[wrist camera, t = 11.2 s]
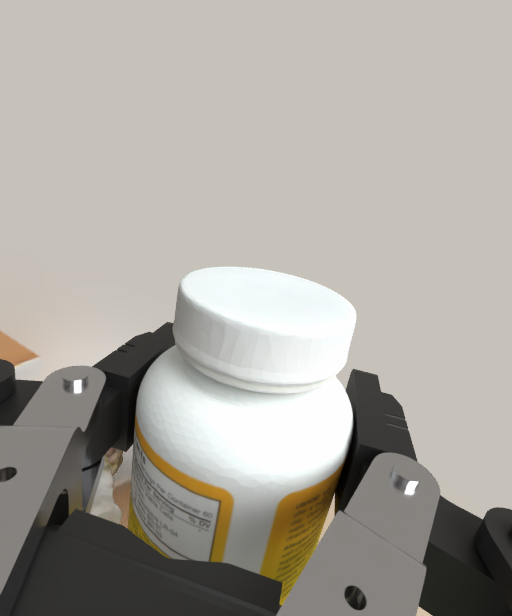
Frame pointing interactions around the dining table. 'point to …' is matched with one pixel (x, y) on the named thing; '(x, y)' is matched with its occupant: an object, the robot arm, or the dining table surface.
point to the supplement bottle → (244, 423)
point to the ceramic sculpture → (108, 489)
